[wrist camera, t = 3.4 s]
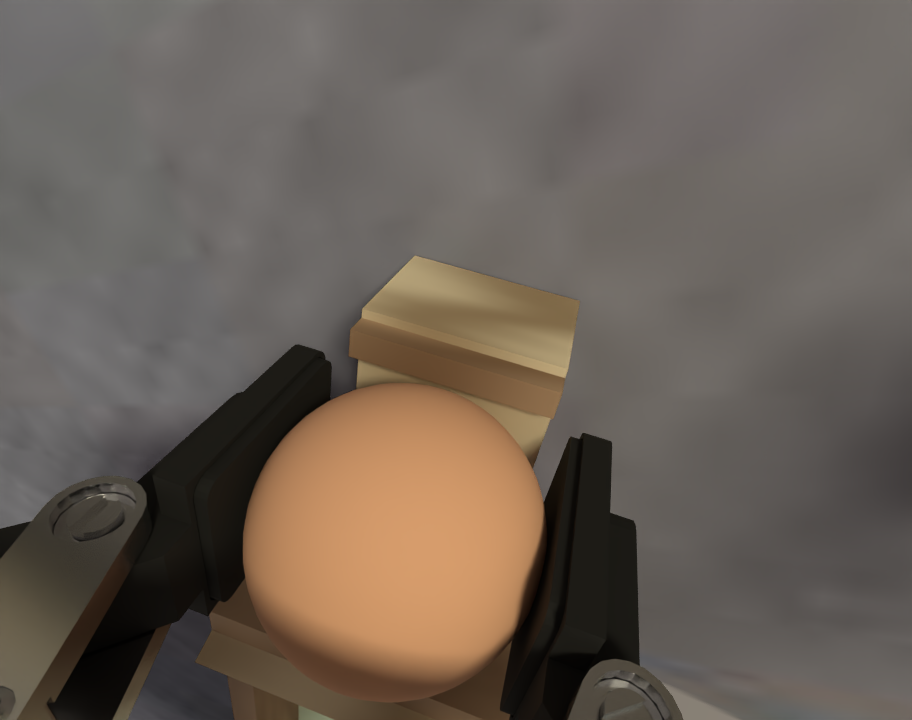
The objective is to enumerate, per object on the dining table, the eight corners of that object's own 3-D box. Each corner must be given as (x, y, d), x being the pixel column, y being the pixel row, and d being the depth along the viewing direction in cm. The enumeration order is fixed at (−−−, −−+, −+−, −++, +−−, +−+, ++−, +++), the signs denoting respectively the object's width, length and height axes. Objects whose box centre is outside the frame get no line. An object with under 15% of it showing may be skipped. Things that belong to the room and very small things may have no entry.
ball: (595, 376, 9) (573, 646, 5) (527, 549, 12) (476, 812, 8) (338, 301, 10) (134, 484, 6) (329, 480, 13) (188, 691, 9)
